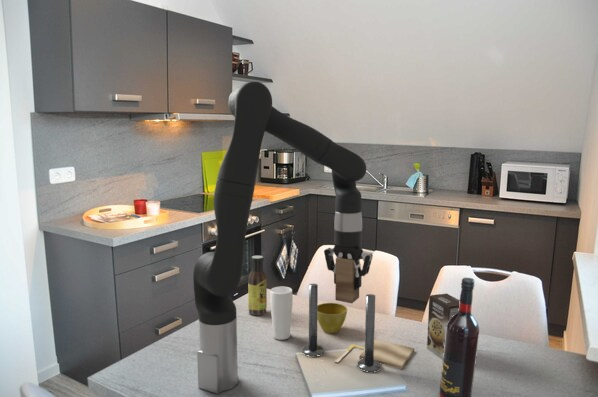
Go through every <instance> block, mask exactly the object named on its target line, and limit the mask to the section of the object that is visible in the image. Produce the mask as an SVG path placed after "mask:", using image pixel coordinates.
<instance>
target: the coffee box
mask: <svg viewBox="0 0 598 397" xmlns="http://www.w3.org/2000/svg"><path fill="white" fill-rule="evenodd" d="M428 297H429V298H428V316H427V317H428V318H427V338H426V342H427V343H426V348H427V349H428V350H429V351H430V352H432V353H433V354H434V355H436V356H437V357H439V358H440V359H441V360H443V353H444V345H445V337H446V327H447V323H448V321H449V320H450V319H451V318H452V316H453V315H455V314H456V313H457V312H458V309H459V301H461V300H460V299H458V298H456V297H454V296H452V295H450V294H448V293H442V294H441V293H438V294H432V295H428Z"/></svg>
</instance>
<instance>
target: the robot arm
mask: <svg viewBox="0 0 598 397" xmlns="http://www.w3.org/2000/svg"><path fill="white" fill-rule="evenodd" d="M227 104H228V109H229V112H230V114H231V115H232V116H233V118H234V123H233V128H232V133H231V134H232V136H231V139H230V142H229V144H228V148H227V150H226V152H225V153H224V156H223V159H222V161H221V163H220V167H219V169H218V173H217V179H216V183H215V189H214V194H213V209H214V217H215V221H216V224H215V225H216V233H217V234H216V244H215V248H214V251H209V252H204V253H203V254H202V255H201V256H200V257H198V259H197V260H196V262H195V265H194V267H193V275H192V276H193V278H192V279H193V294H194V303H195V308H196V310H197V314H198V336H199V338H198V340H199V350H198V351H196V353H197V354H196V359H197V361H196V362H197V384H198V385H197V387H198V388H200V389H201V390H205V391H208V392H210V393H214V394H216V395H217V394H219V393H223V392H227V391H229V390H231V389H232V388H234V387H235V386H236V385H237V384H238V382H239V380H238V379H239V376H238V375H239V374H238V372H239V371H238V331H237V330H238V329H237V327H238V325H237V324H238V323H237V321H238V320H237V319H238V318H237V307H236V306H237V305H236V304H235V302H234V301H233V299H232V297H231V295H232V294H233V293H234V292H235V291H236V290H237V288H238V286H239V285H240V283H241V278H242V274H243V263H244V262H243V261H244V251H245V242H246V235H247V230H248V224H249V223H248V222H249V217H250V213H251V212H250V211H251V207H252V202H253V199H254V198H253V197H254V194H255V193H254V192H255V186H256V183H257V181H256V180H257V175H258V170H259V169H258V168H259V164H260V156H261V148H262V142H263V139H264V136H265V132H266V133H267V134H269V135H272V136H274V137H275V138H277V139H279V140H280V141H282V142H283V143H285V144H287V145H288V146H290V147H292V148H293V149H294V150H296V151H298V152H299V153H300V154H302V155H303V156H306V157H307V158H309V159H310V160H311V161H313V162H315V163H316V164H318V165H321V166H323V167H327V168H328V169H331V176H332V177H331V179H332V183H333V190H334V193H335V199H334V200H335V204H334V205H335V207H334V208H335V209H334V210H335V214H334V222H333V223H334V228H333V230H334V234H333V235H334V236H333V237H334V238H333V239H334V240H333V242H334V246H333V247H328V248H325V249H324V251H323V254H324V258H325V263H326V269H327V270H328V271H331V272H333V283H334V285H336V262H335V259H334V255H335V257H336V258H337V257H338V258H341V259H342V258H347V259H349V260H355V261H354V274H355V277H354V290H358V289H359V290H360V288H362V277H365V276H366V275H368V274H369V272H370V267H371V264H372V261H373V257H374V256H373V253H367V252H364V250H363V248H362V246H363V245H362V244H363V228H364V227H363V216H362V214H363V213H362V203H363V202H362V193H361V191H360V190H359V189H358V188H357V182H358V181H360V180H362V179H363V178H365V175H366V172H367V165H366V162H365V160H364V159H363V158H362V157H361V156H360V155H358V154H357V153H355V152H353V151H352V150H349V149H348V148H346V147H344V146H342V145H339V144H338V143H336V141H335V142H334V141H333V140H332V139H330V137H327V136H326V135H325V134H323V133H322V132H320V131H319V130H317V129H315V128H314V127H312V126H309V125H308V124H305V123H303V122H301V121H299V120H296V119H295V118H292V117H290V116H288V115H286V114H284V113H283V112H281V111H280V110H279V109H276V107H274V106H273V97H272V94H271V91H270V90H269V88H268V87H267V85H265V84H264V83H262V82H260V81H249V82H245V83H244V84H243V83H242V85H239V86H237V87H236V88H235V89H234V90H232V92H230V94H229V97H228V102H227ZM361 258H362V261H363V264H362V265H361V262H360V261H361V260H360V261H359V259H361ZM357 261H358V264H357V265H356V264H355V263H356V262H357ZM361 266H362V267H361Z"/></svg>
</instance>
